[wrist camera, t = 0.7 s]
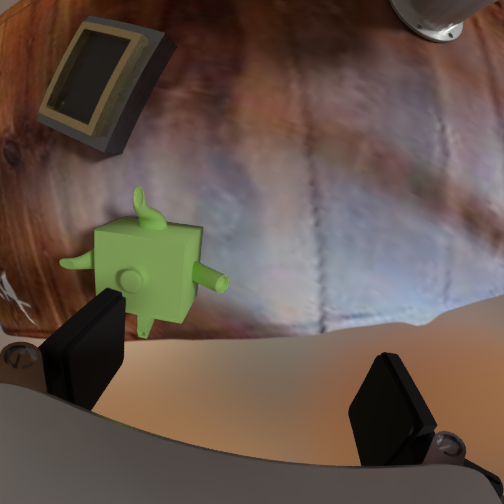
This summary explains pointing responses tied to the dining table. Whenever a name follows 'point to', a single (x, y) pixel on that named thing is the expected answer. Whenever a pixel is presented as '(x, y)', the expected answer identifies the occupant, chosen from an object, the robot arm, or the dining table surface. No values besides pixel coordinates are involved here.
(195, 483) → the robot arm
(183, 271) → the kettle
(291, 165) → the dining table surface
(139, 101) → the toy stove
